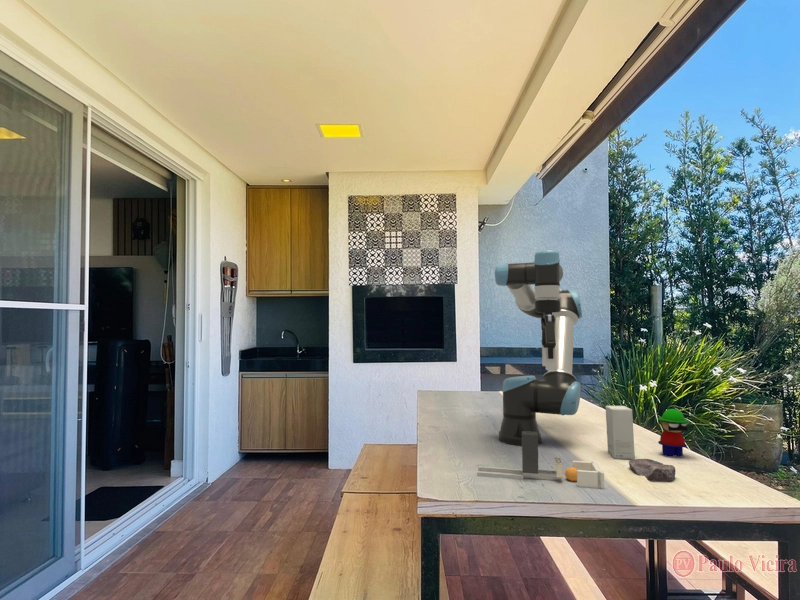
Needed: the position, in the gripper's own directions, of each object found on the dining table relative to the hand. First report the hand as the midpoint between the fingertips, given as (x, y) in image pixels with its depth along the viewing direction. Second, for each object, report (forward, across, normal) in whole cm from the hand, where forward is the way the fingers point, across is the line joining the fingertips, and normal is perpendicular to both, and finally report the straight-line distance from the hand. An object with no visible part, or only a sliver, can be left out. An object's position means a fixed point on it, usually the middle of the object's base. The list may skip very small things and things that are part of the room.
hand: (548, 368), depth 141 cm
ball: (+26, -20, -4) cm, 33 cm away
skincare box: (+29, +13, -23) cm, 39 cm away
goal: (+28, -20, -8) cm, 35 cm away
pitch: (+29, -20, +6) cm, 35 cm away
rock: (+29, -8, -26) cm, 40 cm away
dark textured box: (+27, -20, +4) cm, 34 cm away
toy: (+29, +17, -40) cm, 52 cm away
